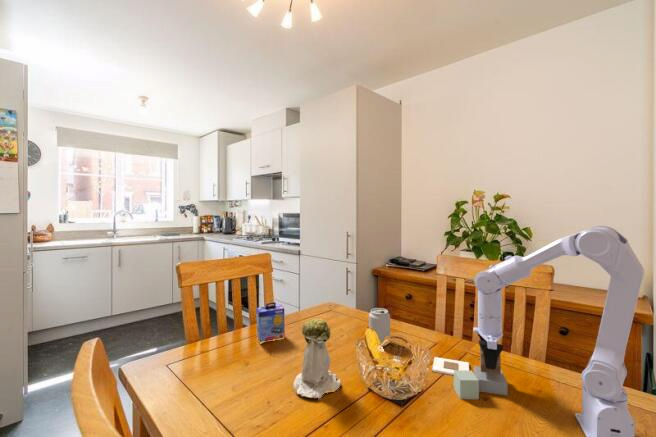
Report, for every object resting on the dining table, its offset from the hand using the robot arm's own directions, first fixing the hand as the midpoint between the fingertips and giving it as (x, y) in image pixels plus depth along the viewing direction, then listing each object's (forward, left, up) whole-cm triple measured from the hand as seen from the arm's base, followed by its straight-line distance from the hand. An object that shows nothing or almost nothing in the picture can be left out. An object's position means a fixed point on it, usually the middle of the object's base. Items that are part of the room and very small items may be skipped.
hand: (489, 363), depth 84 cm
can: (+15, +34, -6) cm, 38 cm away
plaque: (+6, +10, -6) cm, 13 cm away
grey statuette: (-17, +44, -6) cm, 48 cm away
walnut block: (0, 0, -2) cm, 2 cm away
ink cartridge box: (+4, +73, -6) cm, 73 cm away
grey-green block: (-6, +6, -6) cm, 11 cm away
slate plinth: (0, 0, -6) cm, 6 cm away
